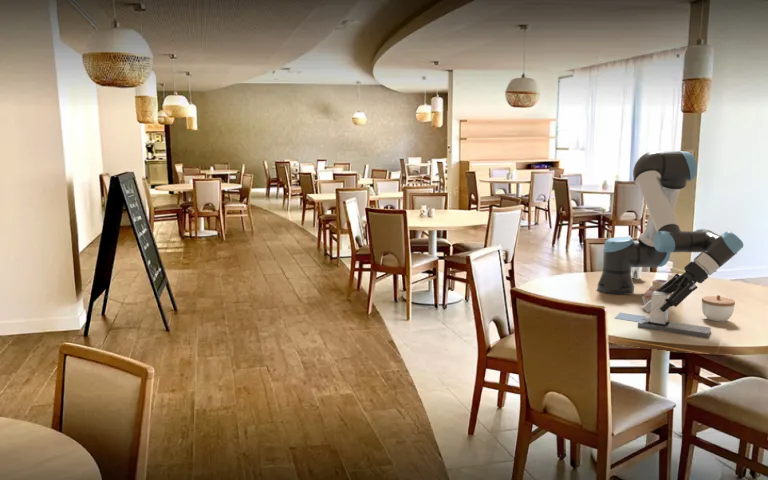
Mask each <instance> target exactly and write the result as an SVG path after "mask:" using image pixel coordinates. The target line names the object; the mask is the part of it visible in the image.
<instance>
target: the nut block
mask: <svg viewBox="0 0 768 480" xmlns="http://www.w3.org/2000/svg"><path fill="white" fill-rule="evenodd" d="M670 296H671V294H670V293H664V292H657V291H654V292H653V294H652V299H651V311H650V312H649V319H650V322H653V323H660V324H666V322H667V321H669V320H668V319H669V310H670V308H668V309H667V310H666V311H665V312H664V313H663V314H661V315H660V316H659V317H658V318H657V319H655V318H654V317H653V316H652V315H651V314H650V313H651V312H652V311H653V310H654V309H655V308H656V307H658V306H659V305H660V304H661V303H662V302H663V301H665V299H668V298H669V297H670Z"/></svg>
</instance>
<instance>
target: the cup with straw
mask: <svg viewBox="0 0 768 480" xmlns="http://www.w3.org/2000/svg"><path fill="white" fill-rule="evenodd" d="M638 239H639V238H637V239H636V241H638ZM642 271H643V267H631V277H632V278H634V279H633V280H640V279H641V276H642ZM639 278H640V279H639Z"/></svg>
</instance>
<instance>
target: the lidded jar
mask: <svg viewBox="0 0 768 480" xmlns="http://www.w3.org/2000/svg"><path fill="white" fill-rule="evenodd" d="M735 303H736V301H735V300H734V299H731V298H728V297H724V296H721V295H720V294H719V295H718V294H717V295H715V296H714V295H708V296H703V297H702V298H701V310H702V314H703V315H704V317H706V320H708V321H715V322H721V323H726V322H727V321H728V320H729V319H730V318H731V317H732V316H733V313H734V310H735Z"/></svg>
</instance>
